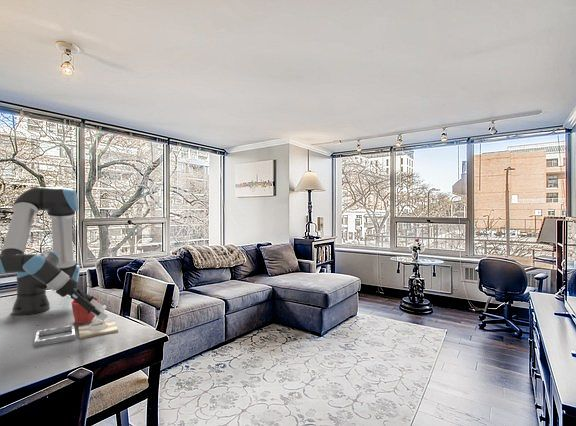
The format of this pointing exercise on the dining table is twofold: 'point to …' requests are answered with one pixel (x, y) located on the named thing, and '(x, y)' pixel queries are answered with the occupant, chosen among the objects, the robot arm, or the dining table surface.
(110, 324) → the birch pad
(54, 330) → the steel holder
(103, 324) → the hook
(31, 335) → the dining table surface
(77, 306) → the flower pot
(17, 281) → the robot arm
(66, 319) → the dining table surface
